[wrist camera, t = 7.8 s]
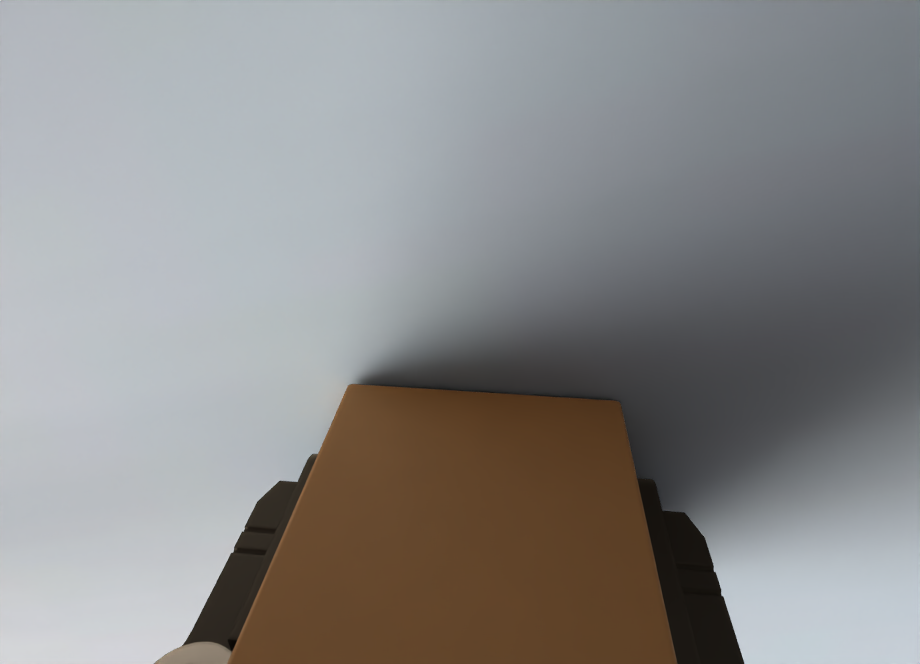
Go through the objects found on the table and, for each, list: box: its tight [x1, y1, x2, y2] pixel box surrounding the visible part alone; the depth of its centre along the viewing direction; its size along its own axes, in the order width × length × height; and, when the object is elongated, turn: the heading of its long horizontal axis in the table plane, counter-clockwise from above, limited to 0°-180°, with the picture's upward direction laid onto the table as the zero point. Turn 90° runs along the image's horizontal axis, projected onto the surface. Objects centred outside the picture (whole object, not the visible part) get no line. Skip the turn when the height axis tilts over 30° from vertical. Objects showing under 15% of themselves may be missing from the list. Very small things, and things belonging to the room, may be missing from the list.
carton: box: [227, 384, 677, 664], centre depth 9 cm, size 5×5×5 cm
